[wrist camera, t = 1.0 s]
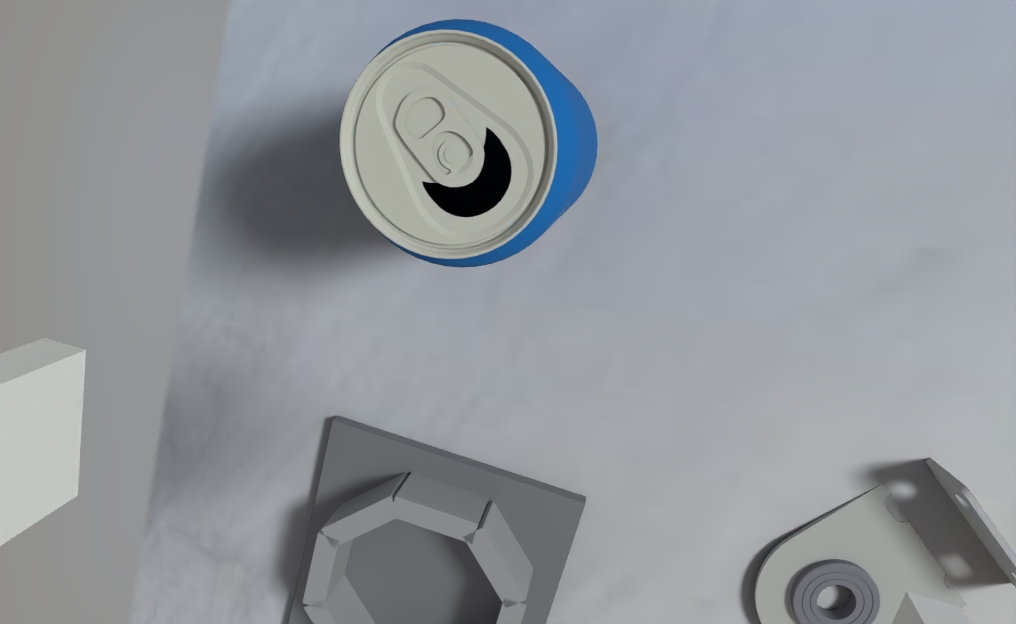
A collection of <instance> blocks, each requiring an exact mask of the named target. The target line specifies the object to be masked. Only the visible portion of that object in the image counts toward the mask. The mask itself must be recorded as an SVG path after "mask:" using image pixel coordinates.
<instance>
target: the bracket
mask: <svg viewBox="0 0 1016 624" xmlns="http://www.w3.org/2000/svg"><path fill="white" fill-rule="evenodd" d="M925 462H926V464H927V465H928V466H929V468H930V469H931V471H932V472H933V474H934V476H935V477H936V479H937V480H938V481H939V483H940V484H941V486H942V487H943V488H944V490H945V491H946V493H947V494H948V495H949V497H950V498H951V500H952V501H953V502H954V504H955V505H956V507H957V508H958V509H959V511H960V512H961V514H962V515H963V516H964V518H965V519H966V521H967V522H968V523H969V525H970V526H971V528H972V529H973V530H974V532H975V533H976V535H977V536H978V537H979V539H980V540H981V542H982V543H983V544H984V546H985V547H986V549H987V550H988V551H989V553H990V554H991V556H992V557H993V558H994V560H995V561H996V563H997V564H998V565H999V567H1000V568H1001V570H1002V571H1003V572H1004V573H1005V574H1006V576H1007V577H1008V579H1009V580H1010V581H1011V583H1012V584H1013V585H1014V586H1015V587H1016V555H1015V553H1014V552H1013V550H1012V549H1011V548H1010V546H1009V545H1008V543H1007V542H1006V541H1005V539H1004V538H1003V536H1002V535H1001V534H1000V532H999V531H998V529H997V528H996V526H995V525H994V524H993V522H992V521H991V519H990V518H989V517H988V515H987V514H986V512H985V511H984V510H983V508H982V507H981V505H980V504H979V502H978V501H977V500H976V498H975V497H974V495H973V494H972V493H971V492H970V490H969V489H968V488H967V487H966V486H965V485H964V484H962V483H961V482H960V481H959V480H957V479H956V478H955V477H954V476H952V475H951V474H950V473H949V472H947V471H946V470H945V469H944V468H942V467H941V466H940V465H939V464H937V463H936V462H935V461H934V460H932V459H931V458H929V459H927V460H926V461H925ZM889 495H891V494H890V492H889V491H888V489H887V488H886V487H885V485H884V484H881V485H879V486H877V487H875V488H874V489H872V490H870V491H868V492H866V493H864V494H863V495H861V496H859V497H857V498H855V499H853V500H852V501H850V502H848V503H846V504H844V505H842V506H841V507H839V508H837V509H835V510H833V511H831V512H830V513H828V514H826V515H824V516H822V517H820V518H819V519H817V520H815V521H814V522H812V523H810V524H809V525H807V526H805V527H804V528H802V529H800V530H799V531H797V532H795V533H794V534H792V535H791V536H789V537H787V538H786V539H785V540H783V541H782V542H780V543H779V544H778V545H777V546H776V547H775V548H774V549H773V550H772V551H771V552H770V553H769V555H768V556H767V557H766V559H765V560H764V562H763V563H762V565H761V567H760V570H759V572H758V575H757V578H756V582H755V590H754V597H755V606H756V610H757V613H758V616H759V619H760V621H761V624H892V622H893V620H894V618H895V616H896V613H897V611H898V609H899V607H900V604H901V602H902V600H903V598H904V595H905V593H906V591H907V592H911V593H914V594H917V595H921V596H924V597H928V598H931V599H934V600H938V601H941V602H945V603H948V604H951V605H955V606H958V607H963V606H965V605H966V603H965V602H964V600H963V599H962V597H961V596H960V594H959V593H958V591H957V590H956V589H950V588H948V587H947V586H946V585H945V584H944V578H945V576H946V574H945V572H944V571H943V570H942V568H941V567H940V565H939V564H938V562H937V561H936V559H935V558H934V556H933V555H932V554H931V552H930V551H929V549H928V548H927V546H926V545H925V543H924V542H923V540H922V539H921V538H920V536H919V535H918V533H917V532H916V530H915V529H914V527H913V526H912V524H911V523H910V521H907V522H900V521H897V520H896V519H895V518H894V517H893V516H892V514H891V513H890V511H889V510H888V509H887V507H886V504H885V502H886V499H887V497H888V496H889ZM831 585H842V586H845V587H847V588H849V589H850V590H851V596H850V599H849V601H848V602H847V603H846V604H845V605H844V606H842V607H840V608H838V609H825V608H822V607H820V606H818V605H817V597H818V595H819V594H820V592H821V591H822V590H823V589H825V588H826V587H828V586H831Z"/></svg>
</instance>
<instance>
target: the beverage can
mask: <svg viewBox="0 0 1016 624" xmlns="http://www.w3.org/2000/svg"><path fill="white" fill-rule="evenodd" d="M340 156H341V164H342V168H343V172H344V176H345V179H346V182H347V184H348V187H349V190H350V192H351V194H352V196H353V198H354V200H355V202H356V203H357V205H358V207H359V208H360V209H361V211H362V212H363V214H364V215H365V217H366V218H367V219H368V220H369V221H370V222H371V223H372V224H373V226H374V227H375V228H376V229H377V230H378V231H379V232H380V233H381V234H382V235H383V236H384V237H385V238H387V239H388V240H389V241H390V242H391V243H393V244H394V245H396V246H397V247H398V248H400V249H401V250H403V251H405V252H407V253H409V254H411V255H413V256H415V257H416V258H419V259H422V260H425V261H428V262H430V263H434V264H439V265H443V266H451V267H476V266H482V265H487V264H492V263H495V262H498V261H501V260H504V259H506V258H508V257H510V256H512V255H514V254H516V253H519V252H520V251H522V250H523V249H525V248H526V247H528V246H529V245H531V244H532V243H533V242H534V241H535V240H536V239H538V238H539V237H540V236H541V235H542V234H543V233H544V232H545V231H546V230H547V229H548V228H549V227H550V226H551V225H552V224H553V223H554V222H555V221H556V220H557V219H558V218H559V217H560V216H562V215H563V214H564V213H565V212H566V211H567V210H568V209H569V208H570V207H571V206H572V205H573V204H574V202H575V201H576V200H577V199H578V198H579V197H580V195H581V194H582V192H583V191H584V189H585V188H586V186H587V184H588V182H589V180H590V178H591V175H592V172H593V169H594V166H595V161H596V156H597V133H596V127H595V122H594V119H593V116H592V113H591V111H590V109H589V107H588V104H587V102H586V101H585V99H584V98H583V96H582V95H581V93H580V92H579V91H578V90H577V88H576V87H575V86H574V85H573V84H572V83H571V82H570V81H569V80H568V79H567V78H566V77H565V76H564V75H563V74H562V73H561V72H560V71H559V70H557V69H556V68H555V67H554V66H553V65H552V64H551V63H550V62H549V61H548V60H547V59H546V58H545V57H544V56H543V55H542V54H541V53H540V52H538V51H537V50H536V49H535V48H534V47H533V46H532V45H531V44H529V43H528V42H526V41H525V40H523V39H522V38H520V37H519V36H517V35H516V34H514V33H512V32H510V31H508V30H506V29H504V28H501V27H498V26H495V25H492V24H489V23H486V22H480V21H474V20H460V19H453V20H444V21H437V22H433V23H429V24H426V25H422V26H420V27H418V28H415V29H413V30H410V31H408V32H406V33H405V34H403V35H401V36H400V37H398V38H396V39H395V40H393V41H392V42H391V43H389V44H388V45H387V46H386V47H384V48H383V49H382V50H381V51H380V52H379V53H378V54H377V55H376V56H375V57H374V58H373V59H372V60H371V61H370V63H369V64H368V65H367V66H366V67H365V69H364V70H363V71H362V73H361V74H360V76H359V77H358V78H357V80H356V82H355V84H354V86H353V87H352V89H351V91H350V93H349V96H348V99H347V101H346V104H345V107H344V111H343V115H342V119H341V127H340Z"/></svg>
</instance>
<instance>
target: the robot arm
mask: <svg viewBox="0 0 1016 624" xmlns="http://www.w3.org/2000/svg"><path fill="white" fill-rule="evenodd" d="M85 355H86V350H84V349H81V348H77V347H74V346H71V345H67V344H63V343H60V342H57V341H53V340H50V339H47V338H43V339H40V340H37V341H34V342H31V343H29V344H26V345H23V346H20V347H17V348H15V349H11V350H9V351H6V352H3V353H1V354H0V546H1V545H2V544H4V543H5V542H7V541H9V540H10V539H12V538H13V537H15V536H16V535H18V534H19V533H21V532H22V531H24V530H25V529H27V528H29V527H30V526H32V525H33V524H35V523H36V522H38V521H39V520H41V519H42V518H44V517H45V516H47V515H48V514H50V513H52V512H53V511H55V510H56V509H58V508H59V507H61V506H62V505H64V504H65V503H67V502H68V501H70V500H72V499H73V498H75V497H76V496H78V482H79V464H80V446H81V428H82V410H83V392H84V373H85ZM892 624H972V622H971V621H970V619H969V618H968V616H967V615H966V613H965V612H964V610H963V609H962V607H958V606H955V605H951V604H948V603H945V602H941V601H938V600H934V599H931V598H928V597H924V596H921V595H917V594H914V593H911V592H907V591H906V593H905V595H904V598H903V600H902V602H901V604H900V607H899V609H898V611H897V613H896V616H895V618H894V620H893V622H892Z"/></svg>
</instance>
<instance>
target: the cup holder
mask: <svg viewBox="0 0 1016 624" xmlns="http://www.w3.org/2000/svg"><path fill="white" fill-rule="evenodd" d="M585 501H586V497H585V496H582V495H578V494H575V493H572V492H569V491H566V490H563V489H560V488H557V487H554V486H551V485H548V484H545V483H542V482H539V481H536V480H533V479H530V478H527V477H523V476H520V475H517V474H514V473H511V472H508V471H505V470H502V469H499V468H496V467H493V466H490V465H487V464H484V463H481V462H478V461H475V460H472V459H469V458H465V457H462V456H459V455H456V454H453V453H450V452H447V451H444V450H441V449H438V448H435V447H432V446H429V445H426V444H423V443H420V442H417V441H414V440H410V439H407V438H404V437H401V436H398V435H395V434H392V433H389V432H386V431H383V430H380V429H377V428H374V427H371V426H368V425H365V424H362V423H359V422H355V421H352V420H349V419H346V418H343V417H340V416H337V417H336V418H335V419H334V420H333V421H332V426H331V430H330V435H329V439H328V444H327V449H326V453H325V458H324V462H323V467H322V472H321V476H320V481H319V485H318V490H317V495H316V499H315V504H314V509H313V513H312V518H311V522H310V527H309V532H308V536H307V541H306V545H305V550H304V555H303V559H302V564H301V568H300V573H299V578H298V582H297V587H296V591H295V596H294V601H293V605H292V610H291V614H290V619H289V624H546V621H547V618H548V615H549V612H550V609H551V606H552V603H553V600H554V597H555V593H556V590H557V587H558V584H559V581H560V578H561V575H562V572H563V569H564V566H565V563H566V560H567V557H568V554H569V551H570V548H571V545H572V542H573V539H574V536H575V533H576V530H577V527H578V524H579V521H580V518H581V515H582V512H583V509H584V505H585Z"/></svg>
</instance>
